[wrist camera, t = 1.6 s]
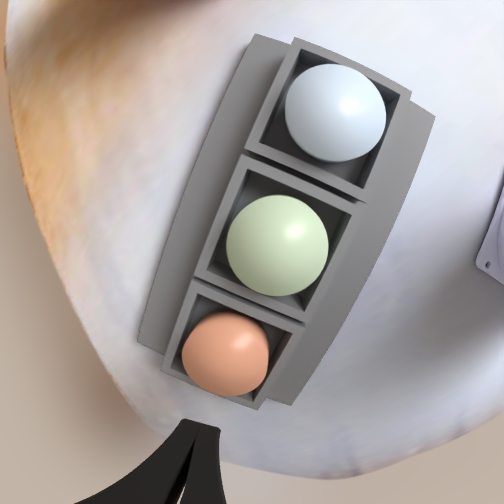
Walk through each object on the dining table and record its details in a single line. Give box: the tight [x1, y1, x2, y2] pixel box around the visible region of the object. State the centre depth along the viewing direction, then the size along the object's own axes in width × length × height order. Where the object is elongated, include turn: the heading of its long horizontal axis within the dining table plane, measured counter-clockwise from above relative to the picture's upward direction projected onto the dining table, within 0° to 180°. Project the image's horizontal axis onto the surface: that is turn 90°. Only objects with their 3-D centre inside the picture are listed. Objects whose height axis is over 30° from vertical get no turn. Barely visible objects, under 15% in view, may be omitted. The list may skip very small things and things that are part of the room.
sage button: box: [226, 194, 328, 296], centre depth 14 cm, size 4×4×2 cm
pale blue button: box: [285, 64, 386, 163], centre depth 13 cm, size 4×4×2 cm
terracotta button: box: [182, 309, 269, 396], centre depth 16 cm, size 4×4×2 cm
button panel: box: [137, 34, 436, 410], centre depth 16 cm, size 11×20×3 cm, turn 157°
